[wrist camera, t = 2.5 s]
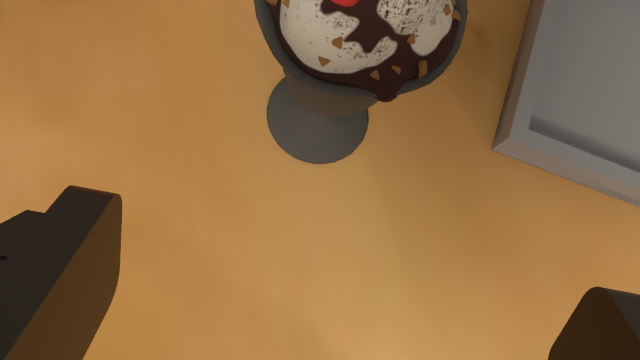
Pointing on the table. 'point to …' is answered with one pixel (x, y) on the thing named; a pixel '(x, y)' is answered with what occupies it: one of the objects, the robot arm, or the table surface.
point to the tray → (578, 95)
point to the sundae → (350, 64)
